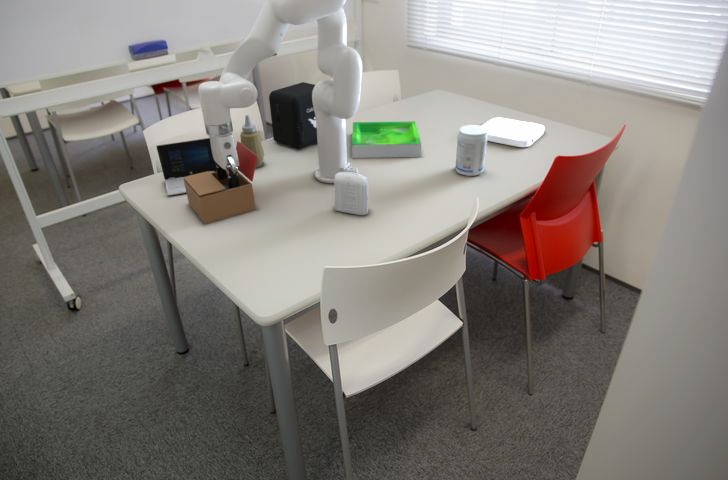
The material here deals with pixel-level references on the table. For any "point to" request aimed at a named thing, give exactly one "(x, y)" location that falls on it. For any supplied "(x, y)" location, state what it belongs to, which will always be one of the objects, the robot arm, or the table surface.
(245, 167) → the flap
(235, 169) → the robot arm
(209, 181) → the carton
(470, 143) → the supplement tub
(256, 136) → the squeeze bottle
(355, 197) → the white upright block
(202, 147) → the laptop
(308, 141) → the black box-shaped case
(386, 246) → the table surface
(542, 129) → the computer
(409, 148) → the tray
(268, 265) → the table surface
